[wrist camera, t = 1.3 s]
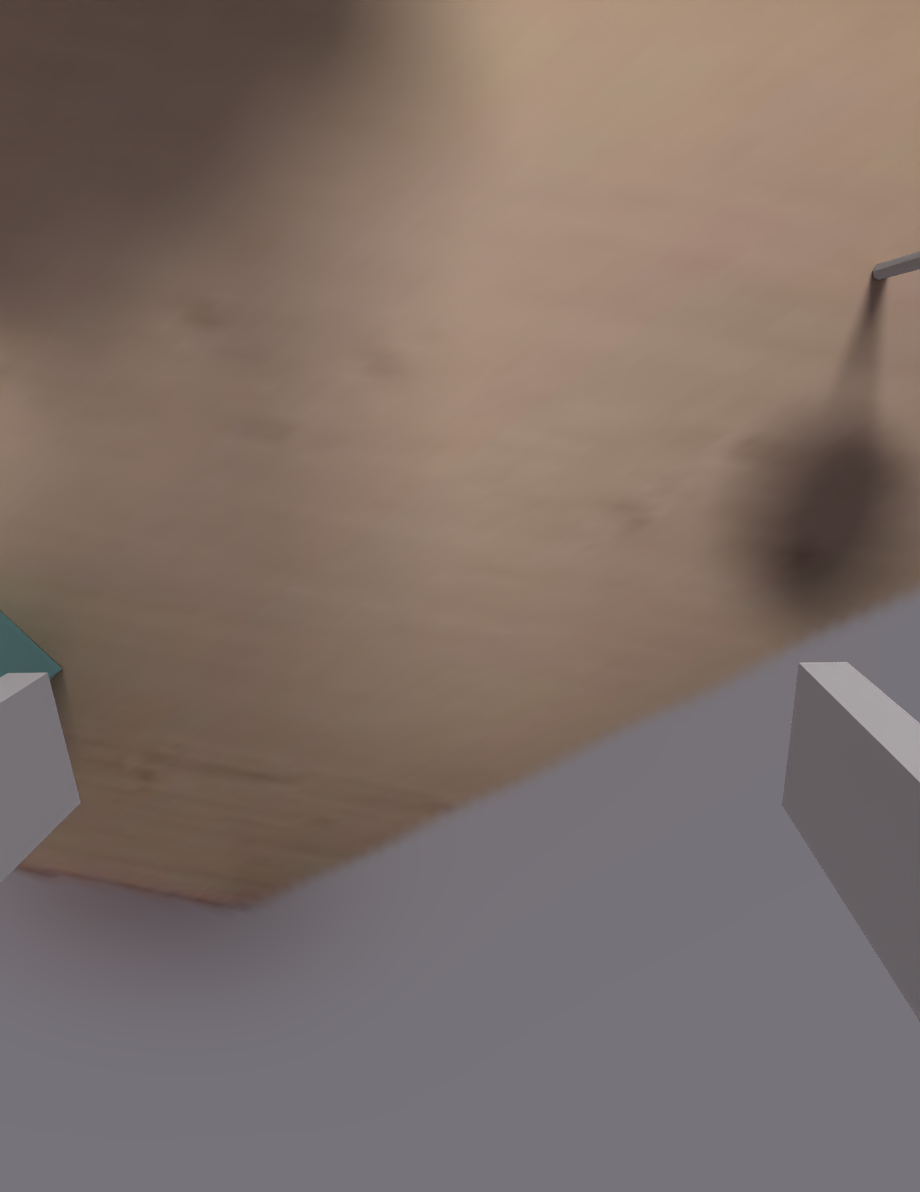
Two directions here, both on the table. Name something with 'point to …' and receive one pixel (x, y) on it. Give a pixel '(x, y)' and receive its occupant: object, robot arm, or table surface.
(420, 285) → the table surface
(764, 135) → the table surface
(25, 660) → the teal drawer cabinet
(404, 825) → the table surface
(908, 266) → the lollipop
